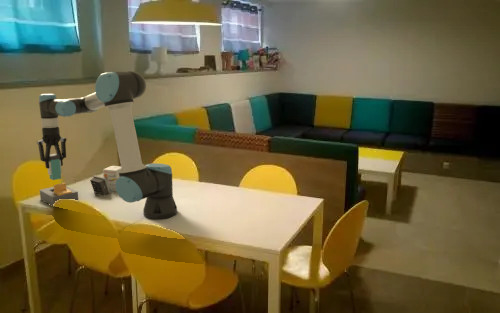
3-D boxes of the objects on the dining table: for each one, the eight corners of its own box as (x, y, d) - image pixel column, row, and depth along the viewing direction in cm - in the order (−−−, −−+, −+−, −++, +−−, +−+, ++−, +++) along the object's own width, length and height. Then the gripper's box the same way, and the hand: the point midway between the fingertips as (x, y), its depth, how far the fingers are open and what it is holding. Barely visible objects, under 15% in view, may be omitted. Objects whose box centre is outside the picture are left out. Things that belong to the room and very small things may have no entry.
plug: (61, 178, 212) (59, 154, 210) (53, 180, 210) (50, 156, 207) (58, 176, 215) (55, 153, 213) (49, 178, 212) (47, 154, 210)
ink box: (103, 190, 230) (102, 168, 228) (113, 185, 238) (111, 165, 235) (117, 191, 228) (116, 170, 225) (126, 187, 236) (125, 166, 233)
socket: (78, 201, 212) (77, 191, 211) (53, 207, 204) (52, 197, 203) (64, 194, 223) (63, 184, 222) (40, 199, 215) (39, 189, 214)
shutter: (72, 192, 209) (71, 185, 208) (58, 195, 205) (58, 188, 204) (66, 189, 213) (65, 182, 213) (53, 192, 209) (52, 185, 208)
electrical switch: (111, 193, 225) (108, 176, 222) (103, 197, 221) (100, 180, 218) (99, 190, 230) (96, 174, 227) (91, 193, 226) (88, 177, 223)
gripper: (64, 123, 215) (68, 168, 220) (28, 127, 203) (34, 175, 208) (71, 125, 210) (75, 171, 215) (34, 129, 198) (40, 178, 203)
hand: (55, 173), depth 212 cm, fingers closed on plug, 4 cm apart
